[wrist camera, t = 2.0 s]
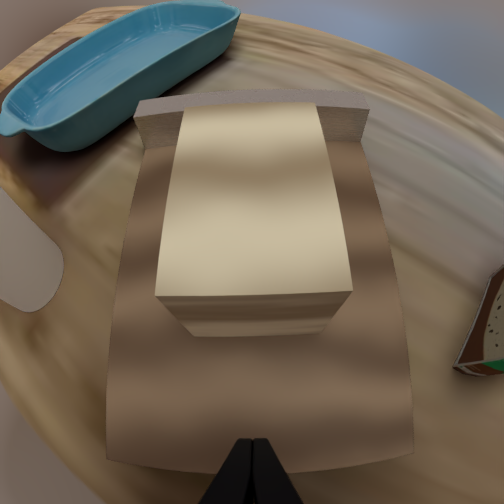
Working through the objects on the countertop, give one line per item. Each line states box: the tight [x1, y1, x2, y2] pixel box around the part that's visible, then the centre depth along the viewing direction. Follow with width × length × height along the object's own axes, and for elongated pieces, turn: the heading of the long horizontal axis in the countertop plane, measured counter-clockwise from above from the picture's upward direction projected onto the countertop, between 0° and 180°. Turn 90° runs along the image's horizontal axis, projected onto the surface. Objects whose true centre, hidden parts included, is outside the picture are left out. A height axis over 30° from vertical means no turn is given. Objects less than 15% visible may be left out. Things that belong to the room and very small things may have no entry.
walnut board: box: [106, 140, 414, 474], centre depth 23 cm, size 29×20×2 cm
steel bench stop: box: [133, 89, 370, 149], centre depth 26 cm, size 2×20×4 cm, turn 91°
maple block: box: [155, 102, 353, 337], centre depth 19 cm, size 12×8×8 cm, turn 1°
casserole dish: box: [0, 0, 241, 152], centre depth 34 cm, size 37×22×7 cm, turn 144°
